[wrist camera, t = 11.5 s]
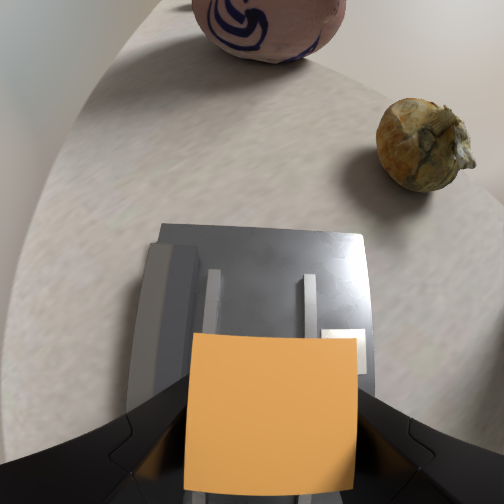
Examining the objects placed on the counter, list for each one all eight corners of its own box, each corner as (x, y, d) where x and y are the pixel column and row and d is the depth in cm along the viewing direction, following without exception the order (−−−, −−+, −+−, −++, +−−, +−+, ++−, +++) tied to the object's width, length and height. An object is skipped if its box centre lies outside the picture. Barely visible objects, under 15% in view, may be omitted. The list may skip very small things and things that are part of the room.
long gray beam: (179, 539, 9) (175, 549, 8) (133, 529, 9) (125, 537, 8) (199, 256, 16) (196, 245, 15) (156, 253, 16) (150, 243, 15)
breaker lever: (292, 440, 12) (352, 488, 4) (217, 437, 12) (183, 489, 4) (294, 370, 13) (356, 338, 6) (221, 367, 13) (193, 332, 6)
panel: (349, 550, 9) (361, 564, 8) (142, 544, 9) (131, 558, 8) (354, 246, 19) (365, 229, 17) (167, 236, 19) (159, 217, 17)
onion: (450, 173, 23) (490, 111, 15) (430, 227, 20) (487, 157, 13) (384, 129, 25) (411, 60, 18) (350, 171, 22) (382, 87, 15)
